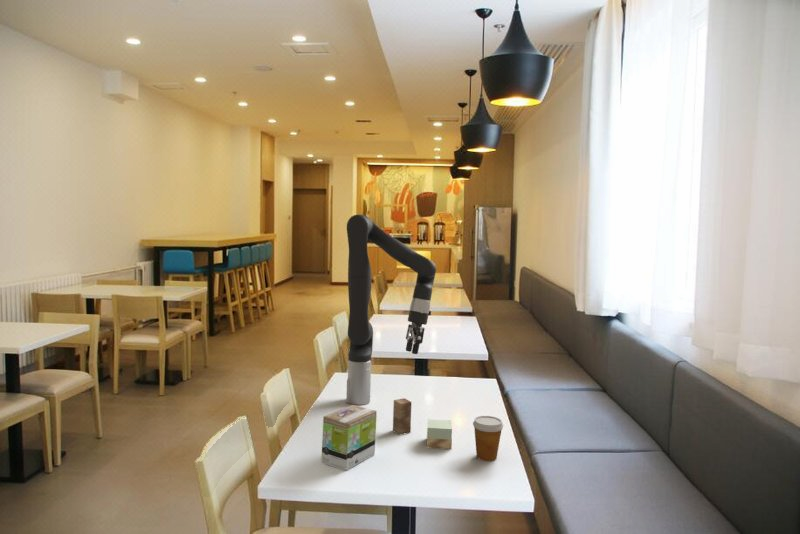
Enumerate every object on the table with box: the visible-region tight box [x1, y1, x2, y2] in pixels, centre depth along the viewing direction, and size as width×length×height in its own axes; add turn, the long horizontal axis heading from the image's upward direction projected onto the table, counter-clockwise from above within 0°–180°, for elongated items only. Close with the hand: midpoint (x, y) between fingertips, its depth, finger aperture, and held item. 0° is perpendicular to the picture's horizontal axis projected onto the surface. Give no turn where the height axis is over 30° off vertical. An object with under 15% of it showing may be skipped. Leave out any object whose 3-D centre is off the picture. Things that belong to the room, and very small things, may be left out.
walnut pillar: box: [392, 398, 412, 435], centre depth 202 cm, size 4×4×11 cm
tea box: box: [320, 404, 378, 472], centre depth 178 cm, size 15×10×15 cm, turn 148°
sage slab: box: [426, 418, 453, 440], centre depth 192 cm, size 8×8×4 cm
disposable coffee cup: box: [472, 415, 504, 462], centre depth 183 cm, size 10×10×12 cm
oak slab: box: [426, 437, 453, 450], centre depth 193 cm, size 8×8×4 cm
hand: (411, 352), depth 222 cm, fingers open, 8 cm apart
